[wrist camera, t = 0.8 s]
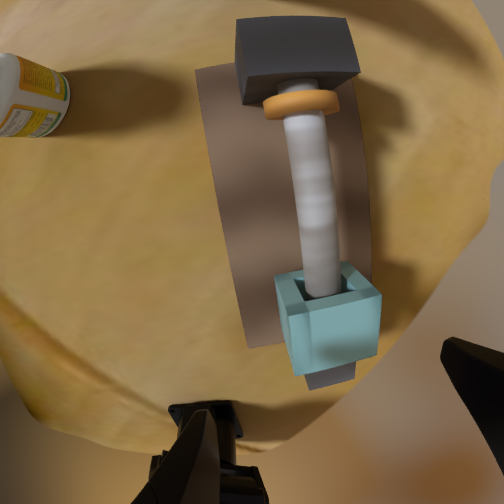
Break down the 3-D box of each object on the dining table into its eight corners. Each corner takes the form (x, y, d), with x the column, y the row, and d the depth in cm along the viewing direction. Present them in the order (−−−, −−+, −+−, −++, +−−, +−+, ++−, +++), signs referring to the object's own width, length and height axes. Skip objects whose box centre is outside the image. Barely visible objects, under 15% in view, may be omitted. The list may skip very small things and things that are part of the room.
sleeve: (348, 313, 18) (376, 355, 14) (281, 328, 18) (294, 376, 14) (347, 261, 17) (381, 294, 13) (273, 275, 17) (288, 316, 12)
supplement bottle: (58, 143, 16) (-36, 146, 6) (17, 132, 15) (-68, 135, 5) (83, 75, 14) (0, 39, 5) (38, 71, 13) (-40, 48, 4)
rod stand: (364, 315, 22) (404, 367, 15) (247, 341, 22) (253, 406, 15) (341, 61, 15) (389, 24, 9) (196, 74, 15) (177, 29, 8)
